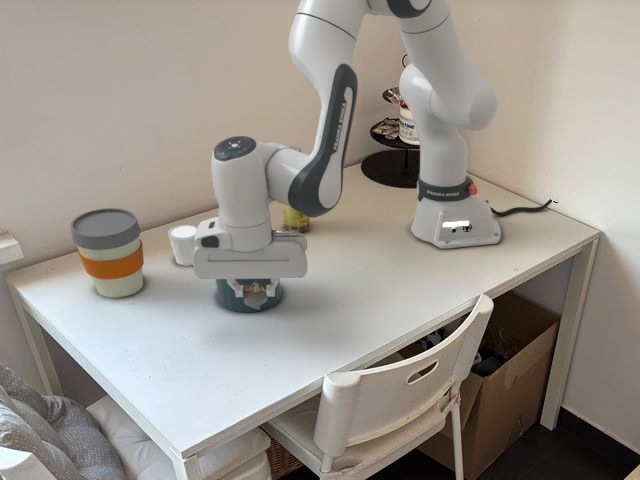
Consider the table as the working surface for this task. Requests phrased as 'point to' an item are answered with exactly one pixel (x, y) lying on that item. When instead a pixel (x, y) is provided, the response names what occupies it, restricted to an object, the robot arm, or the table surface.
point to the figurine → (255, 295)
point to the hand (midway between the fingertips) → (255, 295)
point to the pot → (237, 303)
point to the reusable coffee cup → (110, 250)
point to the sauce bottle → (295, 216)
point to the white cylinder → (183, 243)
